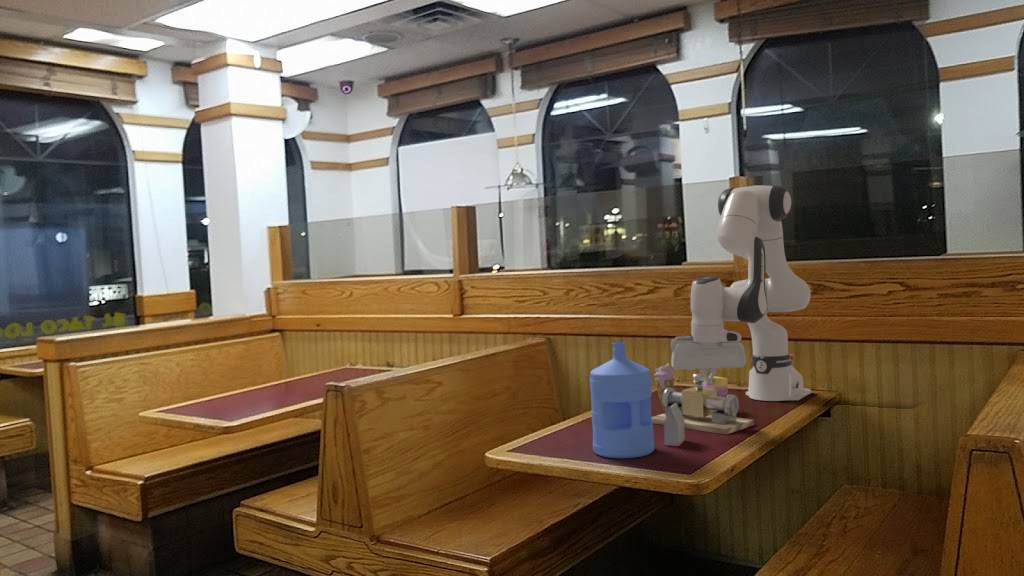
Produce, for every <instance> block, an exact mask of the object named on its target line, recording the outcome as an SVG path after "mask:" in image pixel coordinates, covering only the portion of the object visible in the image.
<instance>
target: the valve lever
mask: <svg viewBox="0 0 1024 576" xmlns="http://www.w3.org/2000/svg"><path fill="white" fill-rule="evenodd" d="M707 377H708V378H709V376H707ZM712 380H713V384H712V385H713V386H718V387H722V386H726V387H728V386H729V385H728V384H729V383H728V381H729V378H728V377H721V376H714V378H713V379H712ZM692 382H693V383H695V382H698V383H699V382H705V378H704V377H703V375H702V373H693V374H692Z"/></svg>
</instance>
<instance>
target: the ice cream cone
mask: <svg viewBox="0 0 1024 576" xmlns="http://www.w3.org/2000/svg"><path fill="white" fill-rule="evenodd" d="M654 371H655V373H654V374H653V377H654V381H655V386H656V390H657V393H658V396H659V400H660V404H661V406H662V410H663V412H665V406H664V405H663V402H662V395H663V392H664V390H665V389H666V388H674V384H675V378H674V375H675V374H674V373H675V371H674V370H673V369H672V366H671V363H668V362H667V364H665V365H664V366H660V367H656V368H655V369H654Z"/></svg>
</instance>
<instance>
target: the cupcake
mask: <svg viewBox="0 0 1024 576" xmlns="http://www.w3.org/2000/svg"><path fill="white" fill-rule="evenodd" d="M702 385H703V387H705V388H714V389H717V397H725V398H726V396H727V395H729V388H728V386H722V387H718V386H713V385H705V382H702Z"/></svg>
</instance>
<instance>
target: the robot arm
mask: <svg viewBox="0 0 1024 576" xmlns="http://www.w3.org/2000/svg"><path fill="white" fill-rule="evenodd" d="M791 206H792V198H791V193H790V190H788V189H787V188H786V186H782V185H776V184H774V185H761V184H759V185H757V184H756V185H752V186H751V185H749V186H741V187H729V188H726V189H724V190H723V191H722V192H721V193H720V194H719V197H718V200H717V209H718V214H719V215H720V218H719V222H718V226H717V233H716V234H717V235H716V236H717V237H716V238H717V240H718V243H719V244H720V245H721V247H722V249H724V250H726V252H728V253H730V254H732V255H735V256H737V257H739V258H742V259H745V260H747V262H748V263H747V264H748V265H747V279H742V280H737V281H734V282H733V283H732V284H730V286H723V285H722V281H721V278H720V277H719V276H715V275H705V276H699V277H696V278H695V279H694V280H693V281H692V283H691V290H690V312H691V315H692V316H691V317H692V318H691V323H690V329H691V330H690V334H691V335H684V336H680V335H677V336H675V337H674V338H672V339H671V340H670V342H669V343H670V351H671V361H670V362H671V363H670V367H671V368H673V369H674V370H676V371H685V370H686V371H687V370H688V371H689V370H700V374H702V375H703V377H704V378H705V385H712V384H713V380H712V379H713V378H714V376H715V375H716V374H717V369H738V368H741V369H742V368H744V367H745V366H746V364H747V357H746V350H745V346H744V344H743V343H741V341H742V335H741V334H740V333H739V332H737V331H733V330H730V329H727V328H726V329H725V325H724V322H741V323H747V325H748V328H749V330H750V336H751V344H752V354H751V359H750V360H751V366H752V368H751V369H750V370H749V374H748V391H745V395H746V396H748V397H749V398H750V399H753V400H756V401H766V402H781V401H784V402H785V401H800V400H802V399H803V398H805V397H806V396H808V395H810V394H811V393H812V389H808V388H805V387H804V377H803V375H802V374H801V373H800V372H799V371H798V370H797V369H796V368H795V367H793V366H792V361H794V360H795V358H796V355H795V353H789V339H788V337H789V336H788V331H787V330H786V328H785V327H784V326H782V325H781V324H778V323H777V322H774V321H772V320H771V319H770V318H769V317H768V313H790V312H796V311H801V310H804V309H806V308H807V306H808V305H809V304H810V301H811V295H812V294H811V289H810V286H809V284H808V283H807V282H806V281H805V280H804V279H802V278H800V277H799V276H798V275H796V273H794V272H793V270H792V269H791V268H790V266H789V263H788V262H787V258H786V253H785V252H786V251H785V246H784V245H785V244H784V230H783V223H782V220H784V219H785V218H786V217H787V216H788V215H789V214H790V212H791ZM766 274H767V275H768V278H766ZM708 370H709V373H710V374H709V376H708V375H707V373H708ZM708 377H709V378H708Z"/></svg>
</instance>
